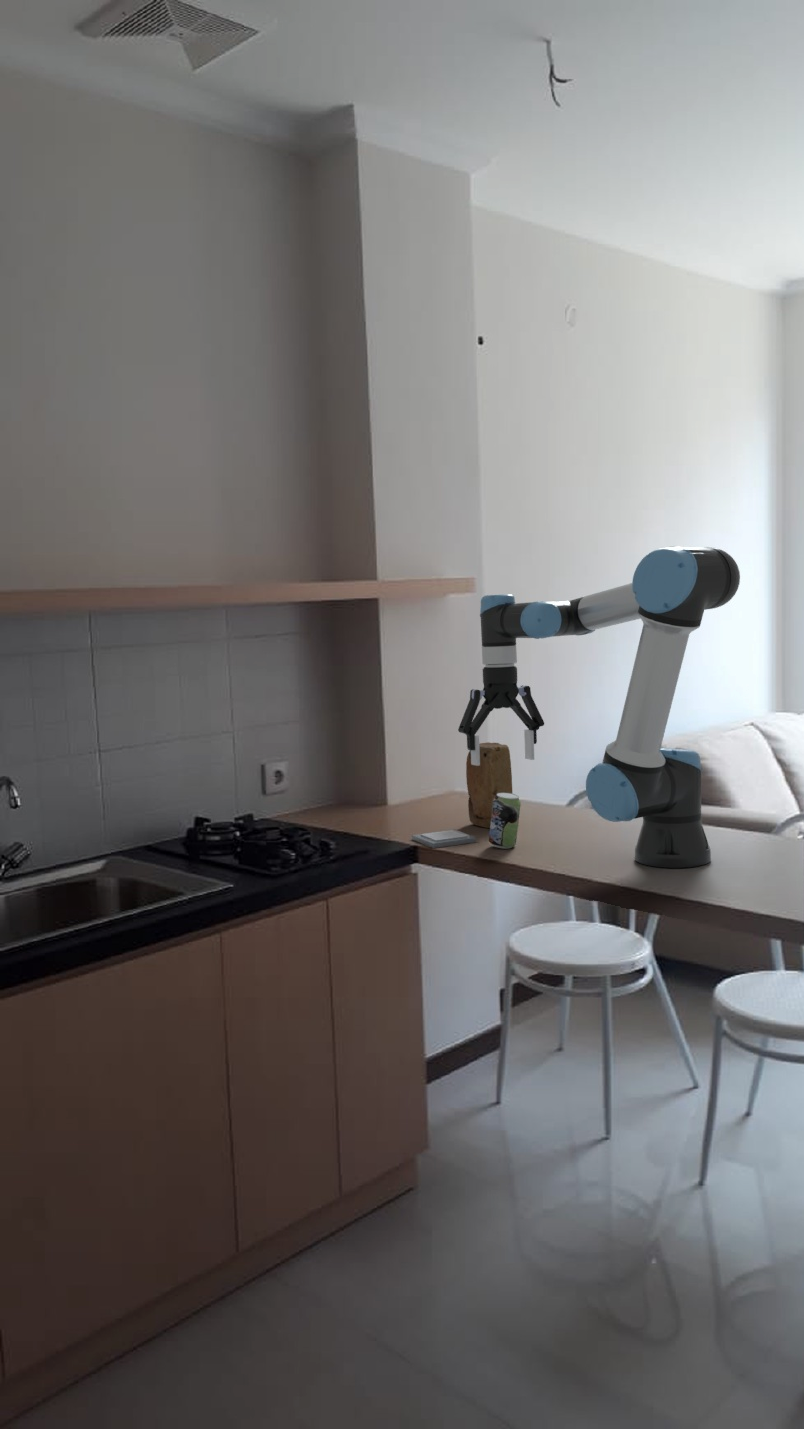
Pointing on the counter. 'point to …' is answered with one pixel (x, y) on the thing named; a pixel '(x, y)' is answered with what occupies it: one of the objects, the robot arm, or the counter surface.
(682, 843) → the robot arm
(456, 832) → the plate
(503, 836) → the beverage can
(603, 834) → the counter surface
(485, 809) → the block
